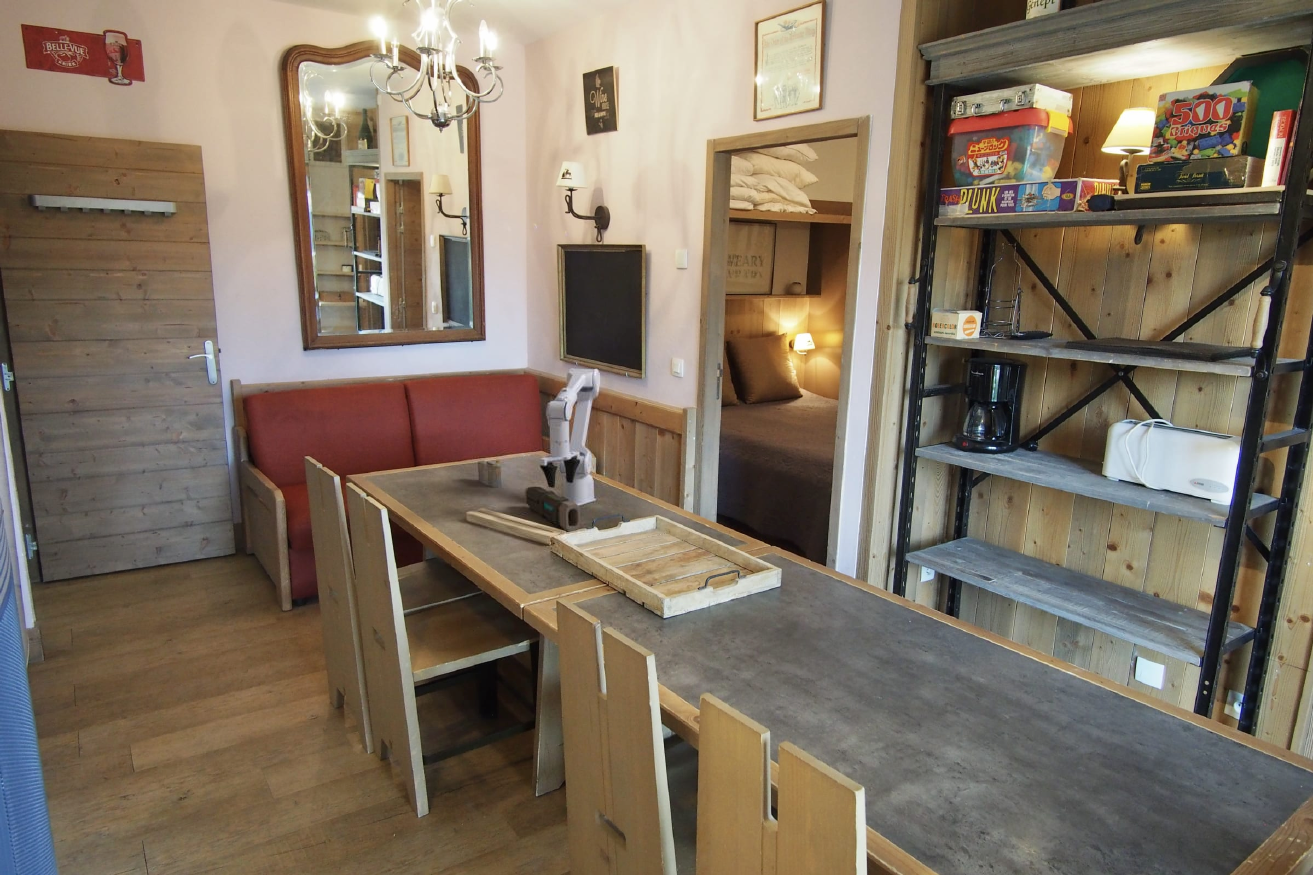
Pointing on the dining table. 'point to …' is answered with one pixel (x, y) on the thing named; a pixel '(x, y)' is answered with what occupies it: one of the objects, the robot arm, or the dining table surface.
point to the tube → (554, 508)
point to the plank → (513, 525)
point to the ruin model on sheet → (489, 473)
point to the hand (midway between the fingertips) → (560, 484)
